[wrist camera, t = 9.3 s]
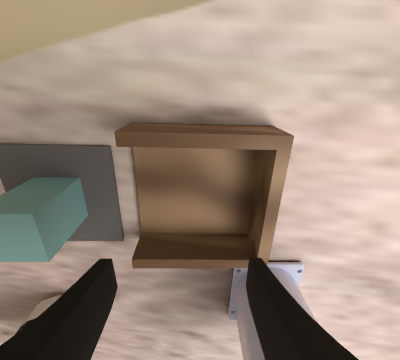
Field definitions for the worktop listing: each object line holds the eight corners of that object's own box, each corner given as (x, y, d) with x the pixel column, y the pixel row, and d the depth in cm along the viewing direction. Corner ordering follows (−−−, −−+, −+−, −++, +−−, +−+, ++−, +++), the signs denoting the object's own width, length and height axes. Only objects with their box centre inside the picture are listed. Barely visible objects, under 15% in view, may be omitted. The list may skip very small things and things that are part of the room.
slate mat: (124, 238, 22) (122, 240, 22) (27, 237, 22) (24, 240, 21) (110, 145, 18) (108, 146, 18) (-8, 143, 18) (-13, 144, 17)
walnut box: (255, 239, 23) (266, 268, 19) (143, 238, 22) (132, 268, 19) (273, 126, 18) (294, 135, 14) (131, 122, 17) (114, 131, 14)
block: (88, 215, 20) (48, 261, 15) (46, 214, 20) (-9, 261, 15) (79, 177, 19) (32, 214, 13) (34, 176, 19) (-33, 213, 13)
